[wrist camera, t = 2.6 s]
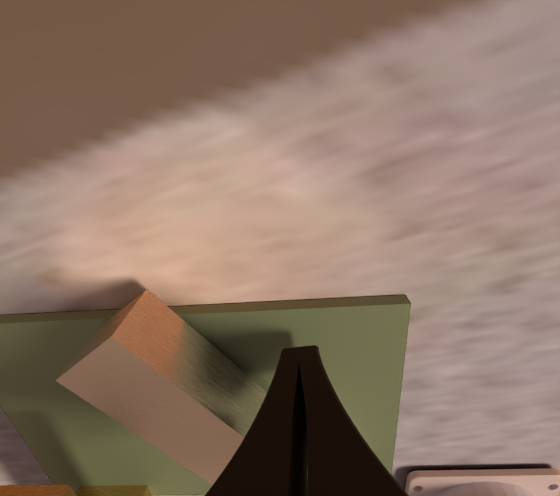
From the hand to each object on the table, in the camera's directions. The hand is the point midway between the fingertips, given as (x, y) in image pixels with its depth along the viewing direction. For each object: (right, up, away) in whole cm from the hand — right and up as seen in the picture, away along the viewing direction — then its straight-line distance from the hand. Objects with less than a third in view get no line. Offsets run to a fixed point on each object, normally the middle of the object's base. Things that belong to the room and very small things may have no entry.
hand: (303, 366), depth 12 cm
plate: (-5, -3, +4) cm, 7 cm away
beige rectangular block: (-3, -3, +2) cm, 4 cm away
